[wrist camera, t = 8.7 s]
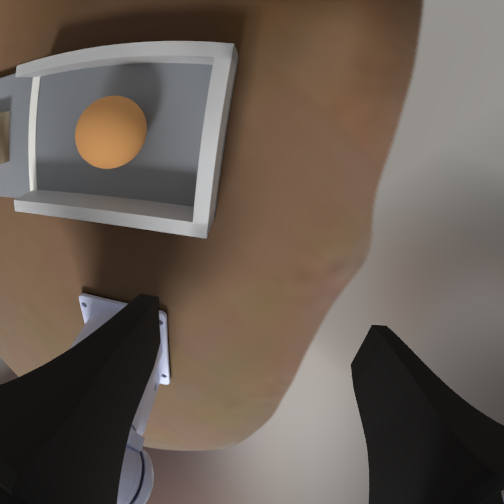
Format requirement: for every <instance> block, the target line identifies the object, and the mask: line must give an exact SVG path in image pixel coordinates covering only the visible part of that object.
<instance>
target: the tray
mask: <svg viewBox="0 0 504 504" xmlns="http://www.w3.org/2000/svg"><path fill="white" fill-rule="evenodd" d="M238 59H239V56H238V53H237V50H236V47H235V45H234V44H232V43H221V42H204V41H152V42H136V43H124V44H115V45H107V46H99V47H93V48H87V49H81V50H76V51H71V52H66V53H61V54H57V55H53V56H49V57H45V58H41V59H37V60H34V61H30V62H27V63H24V64H21V65H18V66H17V68H16V73H15V74H12V75H9V76H6V77H3V78H0V113H1V112H7V111H10V122H9V161H8V162H6V163H3V164H0V196H2V197H13V198H17V199H15V200H14V205H15V211H19V212H26V213H33V214H41V215H48V216H55V217H62V218H69V219H76V220H83V221H90V222H97V223H104V224H111V225H118V226H125V227H131V228H138V229H145V230H152V231H159V232H165V233H172V234H179V235H186V236H192V237H199V238H205V239H207V236H208V234H209V231H210V229H211V226H212V224H213V221H214V219H215V214H216V206H217V198H218V190H219V182H220V174H221V167H222V160H223V152H224V145H225V139H226V132H227V125H228V119H229V112H230V106H231V100H232V94H233V88H234V82H235V76H236V70H237V65H238ZM107 96H123V97H126V98H129V99H131V100H132V101H134V102H135V103H136V104H137V105H138V106H139V107H140V108H141V110H142V111H143V113H144V115H145V118H146V123H147V134H146V139H145V142H144V144H143V146H142V148H141V150H140V151H139V153H138V154H137V155H136V156H135V157H134V158H133V159H132V160H131V161H129V162H128V163H126V164H124V165H122V166H120V167H117V168H112V169H102V168H98V167H95V166H93V165H91V164H89V163H88V162H87V161H85V160H84V159H83V158H82V156H81V155H80V153H79V151H78V149H77V146H76V142H75V130H76V125H77V122H78V120H79V118H80V116H81V114H82V113H83V112H84V110H85V109H86V108H87V107H88V106H89V105H90V104H92V103H93V102H95V101H96V100H98V99H100V98H103V97H107Z"/></svg>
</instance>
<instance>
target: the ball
mask: <svg viewBox="0 0 504 504" xmlns="http://www.w3.org/2000/svg"><path fill="white" fill-rule="evenodd" d="M146 134H147V123H146V118H145V115H144V113H143V111H142V110H141V108H140V107H139V106H138V105H137V104H136V103H135V102H134V101H132V100H131V99H129V98H126V97H123V96H107V97H103V98H100V99H98V100H96V101H95V102H93V103H92V104H90V105H89V106H88V107H87V108H86V109H85V110H84V112H83V113H82V114H81V116H80V118H79V120H78V122H77V125H76V130H75V142H76V146H77V149H78V151H79V153H80V155H81V156H82V158H83V159H84V160H85V161H87V162H88V163H89V164H91V165H93V166H95V167H98V168H102V169H112V168H117V167H120V166H122V165H124V164H126V163H128V162H129V161H131V160H132V159H133V158H134V157H135V156H136V155H137V154H138V153H139V151H140V150H141V148H142V146H143V144H144V142H145V139H146Z"/></svg>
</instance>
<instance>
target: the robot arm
mask: <svg viewBox="0 0 504 504" xmlns="http://www.w3.org/2000/svg"><path fill="white" fill-rule="evenodd" d="M79 301H80V306H81V310H82V314H83V318H84V322H85V325H84V327H83V328H82V330H81V331H80V333H79V334H78V336H77V337H76V339H75V341H74V342H73V344H72V345H71V347H70V348H69V350H68V351H66V352H65V353H63V354H61V355H60V356H58V357H57V358H55V359H53V360H51V361H50V362H48V363H46V364H45V365H43V366H41V367H39V368H37V369H35V370H33V371H31V372H29V373H27V374H25V375H23V376H21V377H19V378H16V379H14V380H12V381H9V382H7V383H4V384H1V385H0V504H146V502H147V500H148V498H149V496H150V494H151V491H152V487H153V480H154V473H153V467H152V462H151V459H150V457H149V455H148V454H147V452H146V451H144V450H143V449H142V447H143V443H144V440H145V438H144V437H142V436H141V435H142V434H143V433H144V431H145V429H146V427H147V423H148V420H149V416H150V413H151V409H152V406H153V403H154V399H155V396H156V393H157V389H158V386H159V383H161V384H165V385H167V384H169V383H170V368H169V353H168V332H167V315H166V313H165V312H164V311H161V310H159V300H158V297H155V296H150V295H145V294H140V295H138V296H137V297H136V298H135V299H133V300H132V301H131V302H130V303H129V304H128V303H124V302H119V301H115V300H110V299H106V298H102V297H98V296H94V295H90V294H86V293H82V294H81V295H80V296H79ZM85 303H86V304H85ZM159 320H161V321H162V322H160V321H159ZM351 369H352V379H353V387H354V392H355V396H356V400H357V404H358V408H359V412H360V417H361V421H362V425H363V429H364V434H365V438H366V443H367V450H368V462H369V486H370V487H369V504H504V494H503V495H502V494H501V491H502V490H504V426H503V425H501V424H500V423H497V422H496V421H494V420H492V419H491V418H489V417H487V416H486V415H484V414H483V413H481V412H480V411H479V410H477V409H476V408H474V407H473V406H471V405H470V404H469V403H467V402H466V401H465V400H464V399H462V398H461V397H460V396H459V395H458V394H456V393H455V392H454V391H453V390H452V389H450V388H449V387H448V386H447V385H446V384H445V383H444V382H443V381H442V380H441V379H440V378H439V377H437V376H436V375H435V374H434V373H433V372H432V371H431V370H430V369H429V368H428V367H427V366H426V365H425V364H424V363H423V362H422V361H421V359H420V358H419V357H418V356H417V355H416V354H415V353H414V352H413V351H412V350H411V349H410V348H409V347H408V346H407V345H406V344H405V343H404V342H403V341H402V340H401V339H400V338H399V337H398V336H397V335H396V334H395V333H394V332H393V331H392V330H391V329H389V328H388V327H387V326H381V325H372V326H371V328H370V330H369V332H368V334H367V336H366V338H365V339H364V341H363V343H362V345H361V347H360V349H359V351H358V352H357V354H356V356H355V358H354V360H353V361H352V363H351Z"/></svg>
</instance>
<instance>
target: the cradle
mask: <svg viewBox="0 0 504 504" xmlns="http://www.w3.org/2000/svg"><path fill="white" fill-rule="evenodd" d="M9 122H10V111H7V112H1V113H0V164H3V163H6V162H8V161H9Z"/></svg>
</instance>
